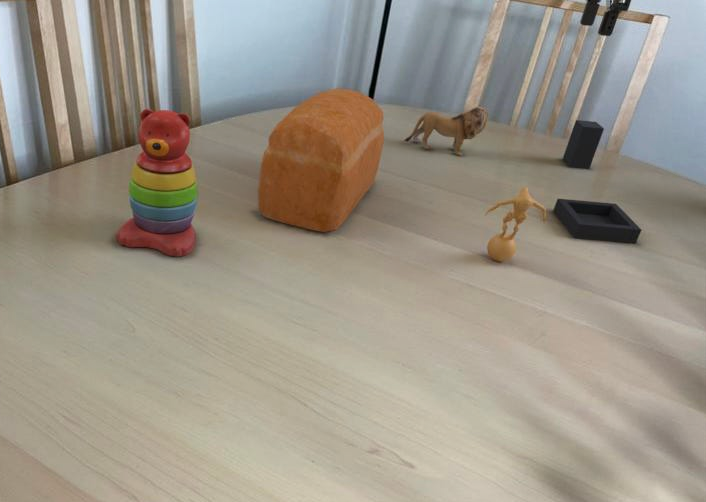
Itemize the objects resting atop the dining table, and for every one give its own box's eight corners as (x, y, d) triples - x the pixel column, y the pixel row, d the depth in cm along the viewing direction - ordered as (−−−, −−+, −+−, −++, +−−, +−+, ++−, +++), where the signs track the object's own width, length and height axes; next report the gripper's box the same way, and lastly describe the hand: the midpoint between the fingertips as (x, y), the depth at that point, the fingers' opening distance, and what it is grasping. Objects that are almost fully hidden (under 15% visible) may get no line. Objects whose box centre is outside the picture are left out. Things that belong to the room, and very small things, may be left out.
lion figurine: (477, 149, 149) (489, 104, 144) (479, 159, 144) (492, 112, 139) (403, 139, 150) (413, 94, 145) (403, 147, 146) (413, 101, 141)
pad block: (581, 161, 148) (596, 121, 144) (589, 168, 145) (604, 128, 141) (562, 159, 148) (575, 119, 144) (569, 167, 145) (583, 126, 140)
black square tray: (610, 216, 126) (616, 203, 125) (635, 243, 118) (641, 229, 116) (552, 211, 126) (557, 198, 124) (573, 238, 117) (579, 224, 116)
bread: (379, 181, 130) (398, 89, 121) (336, 238, 110) (354, 134, 101) (305, 163, 134) (318, 74, 125) (250, 216, 114) (260, 113, 105)
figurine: (523, 256, 110) (549, 180, 103) (532, 276, 105) (561, 197, 98) (467, 250, 111) (489, 173, 104) (473, 269, 106) (498, 190, 99)
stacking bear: (111, 244, 103) (110, 115, 92) (138, 215, 111) (140, 94, 101) (185, 259, 101) (192, 130, 91) (207, 229, 109) (216, 108, 99)
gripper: (671, -66, 118) (631, 41, 127) (633, -75, 130) (599, 23, 139) (625, -71, 118) (588, 37, 127) (591, -80, 130) (560, 19, 139)
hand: (594, 30), depth 133 cm, fingers open, 8 cm apart
